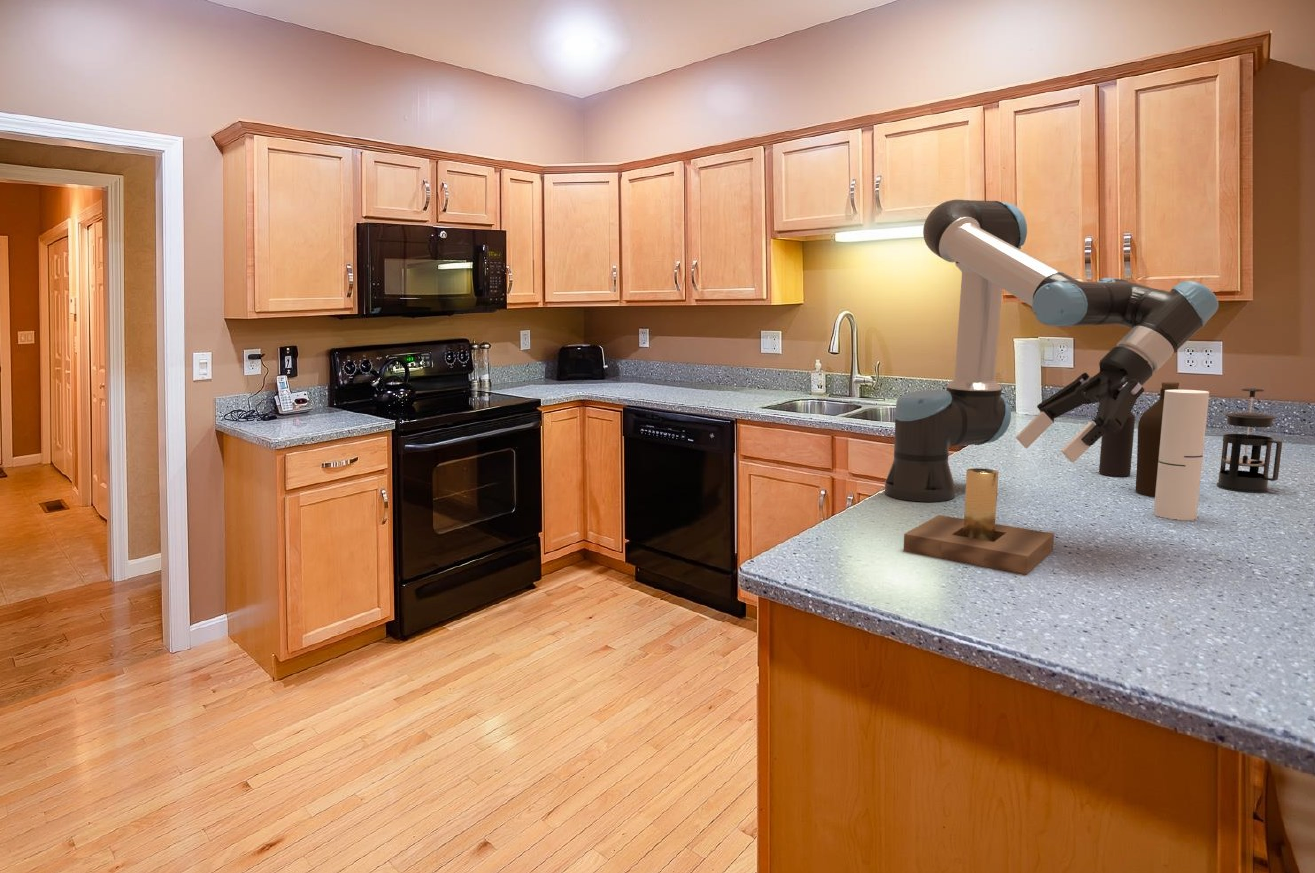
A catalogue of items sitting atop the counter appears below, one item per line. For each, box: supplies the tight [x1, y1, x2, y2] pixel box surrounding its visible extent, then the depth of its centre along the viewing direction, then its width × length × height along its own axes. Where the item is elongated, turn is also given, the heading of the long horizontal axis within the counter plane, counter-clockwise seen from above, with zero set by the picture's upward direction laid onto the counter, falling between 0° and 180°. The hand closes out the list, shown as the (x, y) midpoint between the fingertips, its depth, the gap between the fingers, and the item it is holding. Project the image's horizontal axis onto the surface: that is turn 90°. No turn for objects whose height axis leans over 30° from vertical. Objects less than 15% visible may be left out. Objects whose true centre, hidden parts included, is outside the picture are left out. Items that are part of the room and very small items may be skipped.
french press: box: [1216, 387, 1283, 494], centre depth 172 cm, size 12×9×23 cm
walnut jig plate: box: [903, 514, 1055, 576], centre depth 131 cm, size 20×16×3 cm
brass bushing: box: [963, 467, 999, 542], centre depth 130 cm, size 5×5×14 cm
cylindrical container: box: [1153, 389, 1210, 521], centre depth 150 cm, size 7×7×25 cm
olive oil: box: [1135, 381, 1180, 498], centre depth 168 cm, size 11×11×25 cm
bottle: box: [1098, 411, 1136, 478], centre depth 189 cm, size 7×7×20 cm
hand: (1042, 449), depth 129 cm, fingers open, 13 cm apart
